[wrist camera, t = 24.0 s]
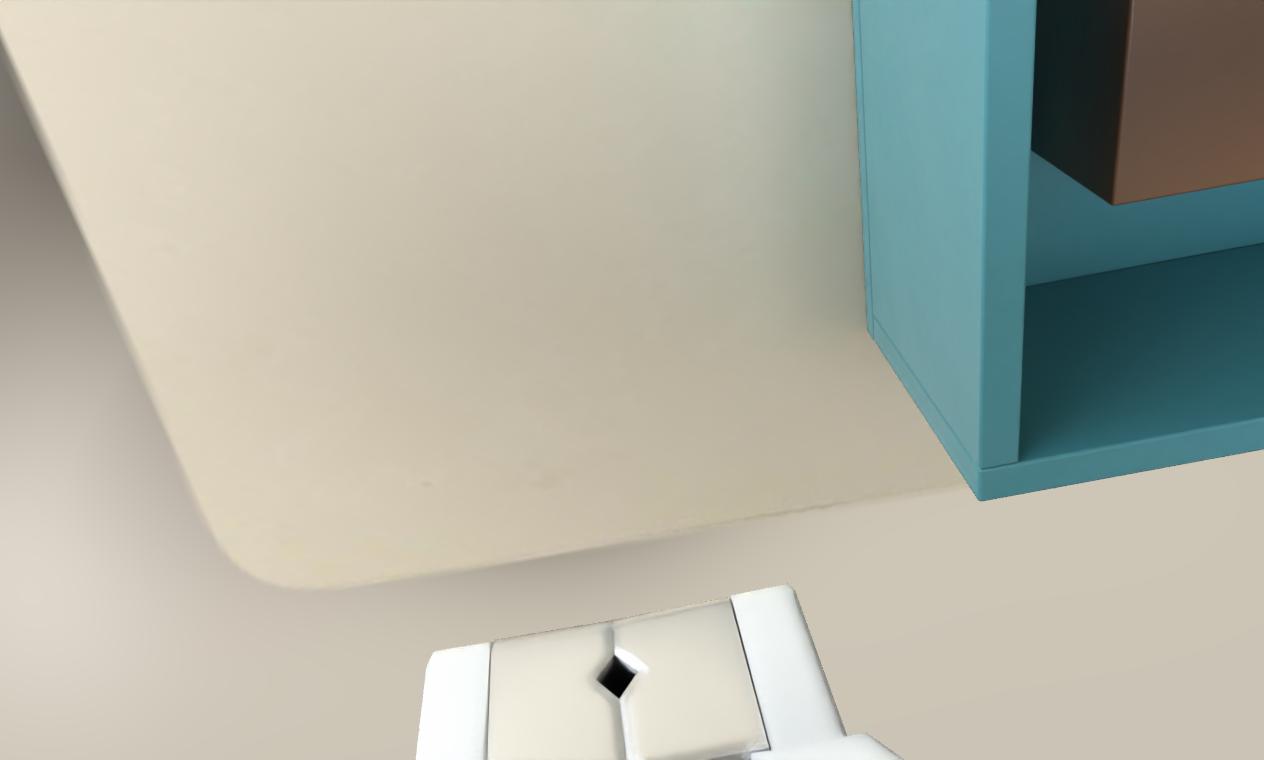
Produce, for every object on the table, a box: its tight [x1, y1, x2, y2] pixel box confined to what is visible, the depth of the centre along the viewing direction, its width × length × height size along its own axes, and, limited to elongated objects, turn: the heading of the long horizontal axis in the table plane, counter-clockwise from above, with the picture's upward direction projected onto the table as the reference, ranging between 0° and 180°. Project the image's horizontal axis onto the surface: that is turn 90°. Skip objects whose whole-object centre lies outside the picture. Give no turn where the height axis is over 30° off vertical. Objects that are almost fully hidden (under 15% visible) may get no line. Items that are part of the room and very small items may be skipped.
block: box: [1031, 0, 1264, 206], centre depth 20 cm, size 5×5×5 cm
